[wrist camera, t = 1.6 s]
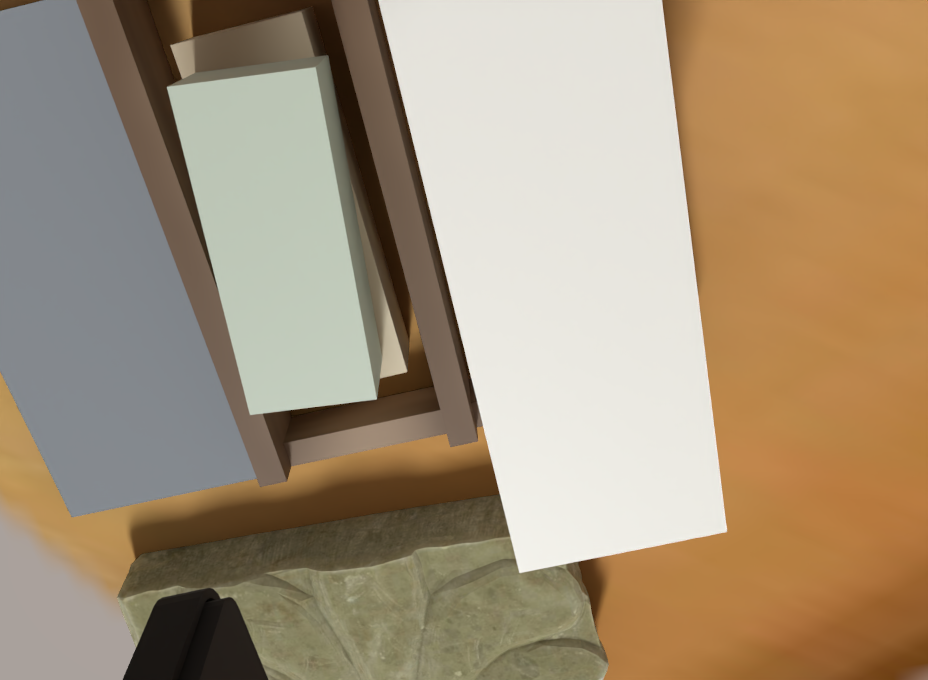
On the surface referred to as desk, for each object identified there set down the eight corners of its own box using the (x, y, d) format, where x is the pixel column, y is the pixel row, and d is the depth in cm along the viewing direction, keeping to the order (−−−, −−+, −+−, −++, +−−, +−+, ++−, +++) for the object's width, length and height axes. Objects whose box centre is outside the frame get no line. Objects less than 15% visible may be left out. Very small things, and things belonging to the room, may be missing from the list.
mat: (92, -11, 27) (85, -11, 27) (269, 467, 35) (267, 476, 34) (-146, 48, 28) (-158, 50, 27) (77, 508, 35) (71, 517, 35)
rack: (608, -179, 26) (628, -194, 23) (680, 357, 33) (702, 394, 30) (95, -50, 27) (57, -50, 24) (274, 444, 34) (260, 487, 31)
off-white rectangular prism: (553, -89, 27) (646, -122, 15) (620, 320, 33) (727, 532, 21) (396, -50, 27) (365, -53, 15) (489, 349, 33) (519, 573, 21)
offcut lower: (314, 5, 28) (301, 11, 25) (409, 337, 33) (407, 372, 30) (195, 36, 28) (170, 45, 26) (307, 360, 33) (295, 397, 30)
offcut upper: (328, 55, 26) (315, 67, 23) (382, 358, 30) (377, 399, 27) (194, 72, 26) (166, 86, 23) (266, 373, 30) (249, 415, 27)
